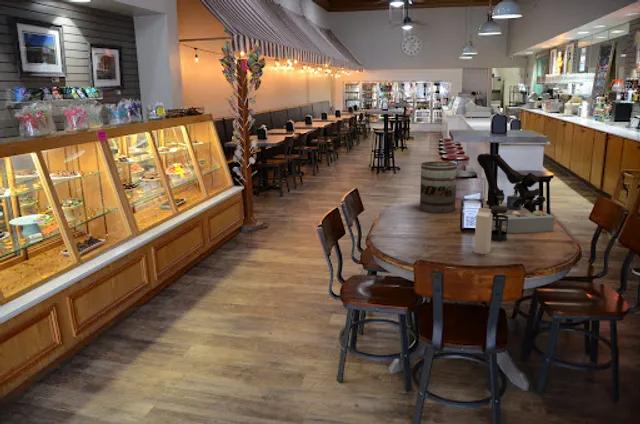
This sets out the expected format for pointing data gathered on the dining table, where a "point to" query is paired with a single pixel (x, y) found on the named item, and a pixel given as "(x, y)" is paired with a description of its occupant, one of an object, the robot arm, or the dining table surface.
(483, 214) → the milk
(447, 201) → the barrel
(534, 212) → the pale green rounded cylinder
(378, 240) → the dining table surface
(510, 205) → the flask
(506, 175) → the robot arm
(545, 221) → the block
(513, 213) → the cream button
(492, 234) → the french press
